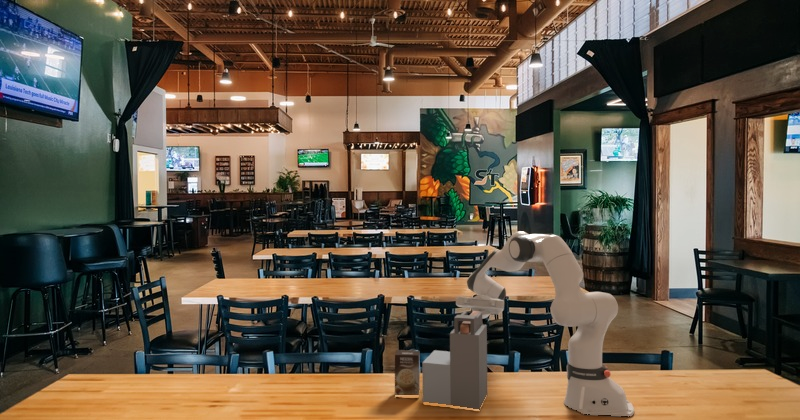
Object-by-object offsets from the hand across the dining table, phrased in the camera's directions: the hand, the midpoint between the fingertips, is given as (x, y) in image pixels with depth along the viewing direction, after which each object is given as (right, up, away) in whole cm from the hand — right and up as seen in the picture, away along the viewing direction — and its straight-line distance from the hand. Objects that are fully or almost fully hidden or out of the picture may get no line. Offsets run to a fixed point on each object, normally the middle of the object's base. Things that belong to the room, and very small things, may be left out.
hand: (479, 300), depth 212 cm
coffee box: (-30, -31, -22) cm, 48 cm away
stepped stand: (-12, -31, -27) cm, 43 cm away
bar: (-6, -5, -24) cm, 25 cm away
